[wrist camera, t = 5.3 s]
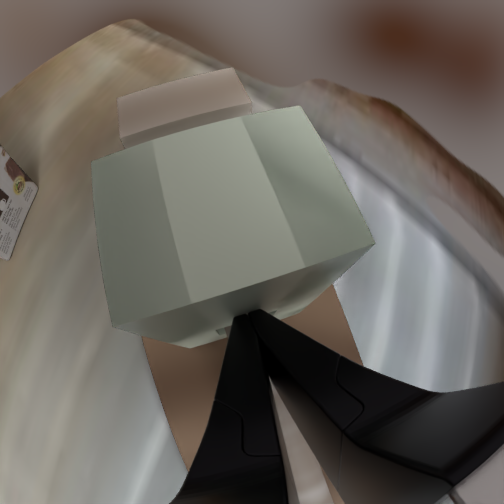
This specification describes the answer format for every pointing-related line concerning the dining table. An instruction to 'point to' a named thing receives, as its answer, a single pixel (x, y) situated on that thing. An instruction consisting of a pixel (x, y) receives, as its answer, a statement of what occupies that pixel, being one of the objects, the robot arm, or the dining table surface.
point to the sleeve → (222, 226)
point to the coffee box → (13, 201)
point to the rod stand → (211, 354)
